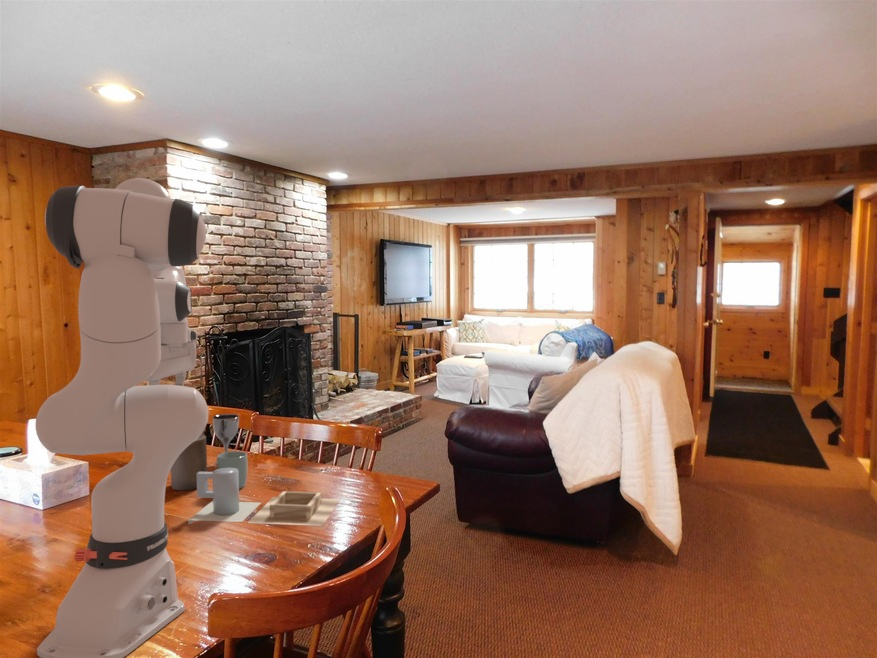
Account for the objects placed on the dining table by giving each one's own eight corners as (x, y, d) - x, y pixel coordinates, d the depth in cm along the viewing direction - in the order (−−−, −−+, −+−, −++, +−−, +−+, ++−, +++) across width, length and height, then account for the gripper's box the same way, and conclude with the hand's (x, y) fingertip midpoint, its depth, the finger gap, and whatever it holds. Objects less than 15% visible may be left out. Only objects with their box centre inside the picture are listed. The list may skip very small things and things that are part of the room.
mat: (241, 526, 140) (241, 522, 140) (188, 524, 141) (188, 520, 141) (261, 506, 153) (261, 502, 153) (212, 504, 154) (212, 500, 154)
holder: (322, 530, 139) (322, 513, 138) (247, 527, 140) (246, 510, 139) (340, 502, 156) (340, 487, 156) (273, 500, 158) (273, 485, 157)
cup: (238, 495, 161) (237, 459, 160) (212, 493, 163) (211, 457, 162) (252, 486, 169) (252, 452, 168) (227, 484, 170) (227, 450, 170)
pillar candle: (213, 480, 174) (212, 429, 173) (197, 491, 164) (195, 437, 163) (182, 479, 175) (180, 429, 174) (163, 490, 165) (162, 436, 164)
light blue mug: (233, 516, 144) (232, 475, 143) (193, 514, 145) (192, 474, 144) (243, 506, 150) (242, 467, 149) (204, 505, 151) (203, 466, 150)
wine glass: (212, 460, 194) (211, 414, 193) (237, 457, 198) (237, 413, 197) (214, 467, 187) (213, 419, 186) (240, 464, 190) (240, 417, 189)
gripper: (156, 339, 127) (157, 403, 127) (200, 332, 147) (201, 388, 148) (127, 338, 127) (129, 402, 128) (176, 332, 147) (177, 387, 148)
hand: (168, 394), depth 138 cm, fingers open, 8 cm apart
